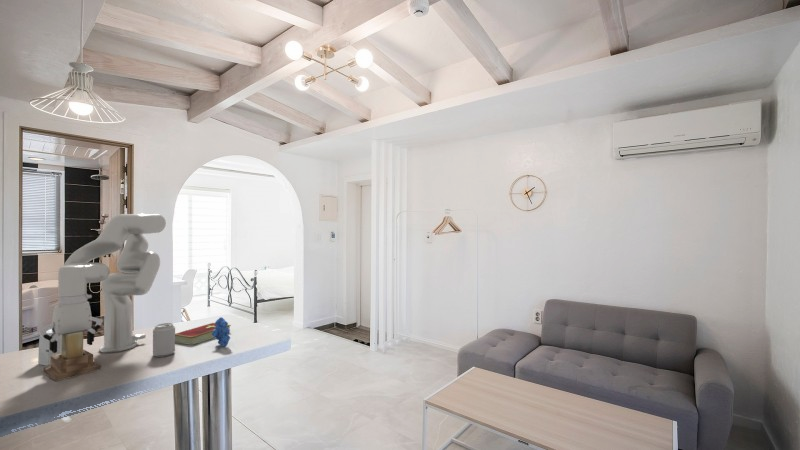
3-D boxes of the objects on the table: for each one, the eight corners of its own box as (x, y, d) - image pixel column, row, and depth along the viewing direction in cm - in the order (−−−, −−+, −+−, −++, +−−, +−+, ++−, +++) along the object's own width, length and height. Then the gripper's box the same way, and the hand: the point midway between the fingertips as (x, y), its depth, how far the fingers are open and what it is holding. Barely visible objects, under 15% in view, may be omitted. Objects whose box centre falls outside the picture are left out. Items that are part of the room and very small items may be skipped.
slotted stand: (86, 361, 138) (86, 346, 138) (100, 369, 130) (100, 354, 130) (42, 371, 128) (43, 356, 128) (55, 381, 120) (55, 364, 120)
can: (179, 352, 148) (179, 323, 148) (160, 358, 141) (160, 327, 141) (167, 350, 151) (167, 321, 151) (148, 355, 144) (148, 325, 144)
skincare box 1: (37, 364, 135) (37, 331, 135) (52, 360, 139) (52, 328, 139) (48, 366, 133) (48, 333, 133) (62, 361, 137) (63, 329, 137)
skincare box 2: (60, 366, 129) (60, 331, 129) (76, 362, 133) (76, 329, 133) (67, 370, 126) (68, 334, 126) (83, 366, 129) (83, 331, 129)
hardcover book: (172, 342, 161) (172, 333, 161) (212, 330, 181) (212, 321, 181) (191, 346, 157) (192, 336, 157) (230, 333, 177) (230, 324, 177)
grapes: (206, 345, 157) (206, 317, 157) (222, 341, 162) (222, 314, 162) (217, 351, 149) (217, 322, 150) (233, 347, 155) (233, 319, 155)
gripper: (98, 295, 138) (98, 339, 138) (36, 303, 124) (35, 353, 124) (106, 297, 134) (106, 343, 134) (42, 305, 120) (42, 357, 120)
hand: (72, 348), depth 129 cm, fingers open, 9 cm apart
